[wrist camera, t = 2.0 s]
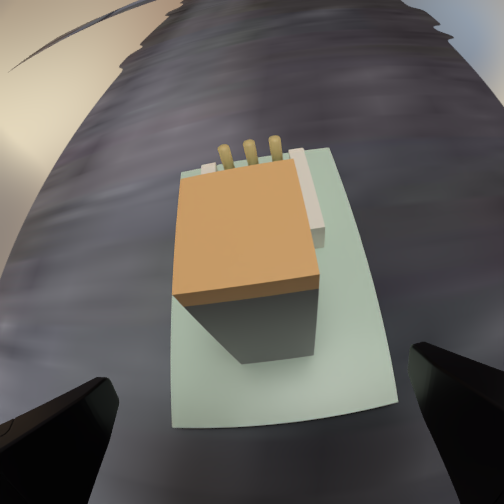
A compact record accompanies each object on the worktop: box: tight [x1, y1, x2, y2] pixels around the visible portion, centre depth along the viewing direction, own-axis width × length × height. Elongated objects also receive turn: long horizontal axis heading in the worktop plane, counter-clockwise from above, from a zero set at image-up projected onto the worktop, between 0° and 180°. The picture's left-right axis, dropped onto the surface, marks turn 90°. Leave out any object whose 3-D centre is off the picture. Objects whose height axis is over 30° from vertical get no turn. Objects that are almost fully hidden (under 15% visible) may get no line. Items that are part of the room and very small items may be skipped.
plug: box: [172, 159, 320, 364], centre depth 15 cm, size 5×4×11 cm
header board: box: [171, 136, 398, 428], centre depth 21 cm, size 22×14×5 cm, turn 4°
